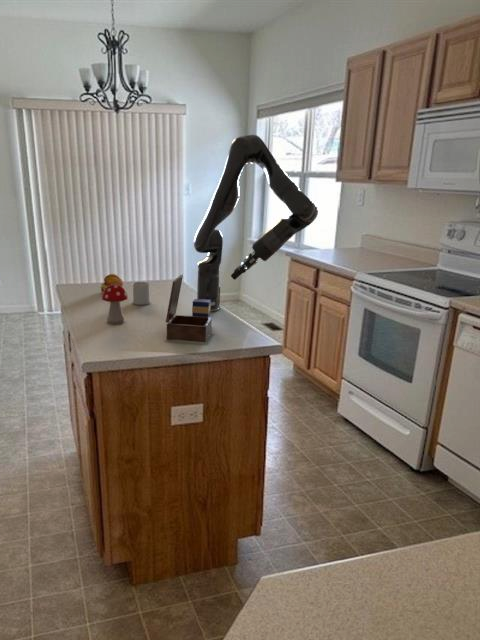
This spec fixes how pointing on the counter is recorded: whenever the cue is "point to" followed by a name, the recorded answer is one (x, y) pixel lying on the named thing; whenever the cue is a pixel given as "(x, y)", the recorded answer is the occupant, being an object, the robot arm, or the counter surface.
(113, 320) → the decorative mushroom
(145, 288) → the cup
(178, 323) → the chest
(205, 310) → the cookie packet
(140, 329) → the counter surface
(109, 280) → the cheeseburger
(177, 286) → the lid
